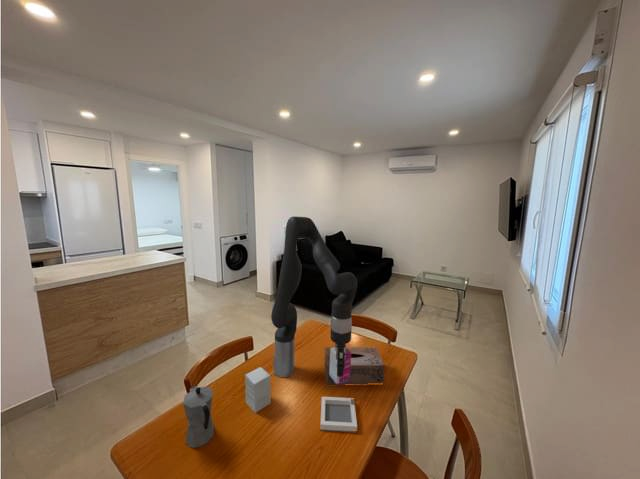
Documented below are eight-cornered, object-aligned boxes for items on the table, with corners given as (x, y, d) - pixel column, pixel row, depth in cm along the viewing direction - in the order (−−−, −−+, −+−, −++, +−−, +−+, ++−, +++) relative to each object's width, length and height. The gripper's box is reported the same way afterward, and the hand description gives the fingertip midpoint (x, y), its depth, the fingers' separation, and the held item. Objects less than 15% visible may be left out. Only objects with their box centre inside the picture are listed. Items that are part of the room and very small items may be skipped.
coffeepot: (179, 430, 88) (177, 384, 85) (207, 415, 94) (205, 372, 92) (193, 464, 77) (191, 412, 74) (224, 445, 83) (222, 396, 81)
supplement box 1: (261, 393, 106) (261, 366, 104) (271, 403, 101) (271, 375, 99) (245, 402, 101) (244, 374, 99) (254, 414, 96) (254, 384, 94)
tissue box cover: (326, 386, 112) (327, 365, 110) (324, 365, 126) (325, 347, 124) (383, 385, 113) (384, 365, 111) (375, 365, 127) (376, 346, 126)
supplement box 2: (336, 385, 89) (337, 356, 88) (328, 375, 95) (329, 347, 93) (350, 380, 92) (351, 352, 90) (341, 371, 97) (342, 343, 96)
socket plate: (320, 430, 90) (320, 423, 89) (321, 401, 102) (321, 395, 102) (356, 432, 89) (357, 425, 89) (353, 403, 102) (353, 397, 101)
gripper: (330, 317, 98) (329, 356, 100) (330, 337, 84) (329, 381, 86) (350, 318, 97) (348, 357, 100) (353, 338, 83) (351, 382, 86)
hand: (339, 368), depth 93 cm, fingers closed on supplement box 2, 7 cm apart
